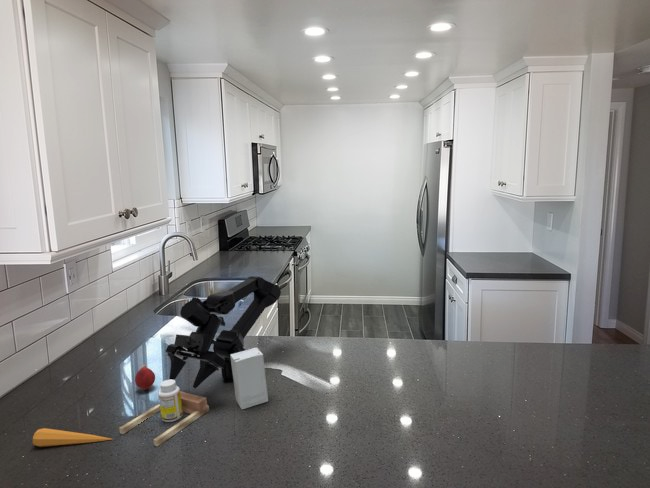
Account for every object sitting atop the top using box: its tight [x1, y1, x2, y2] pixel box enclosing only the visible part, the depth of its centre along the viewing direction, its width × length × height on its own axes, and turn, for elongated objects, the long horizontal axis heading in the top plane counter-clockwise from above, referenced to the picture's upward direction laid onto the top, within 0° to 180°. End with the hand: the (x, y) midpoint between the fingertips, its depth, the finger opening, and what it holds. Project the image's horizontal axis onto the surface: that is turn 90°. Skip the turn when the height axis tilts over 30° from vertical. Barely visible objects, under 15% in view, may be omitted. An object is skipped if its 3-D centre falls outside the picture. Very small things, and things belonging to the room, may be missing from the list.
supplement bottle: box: [158, 379, 184, 423], centre depth 124 cm, size 6×6×10 cm
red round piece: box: [134, 364, 156, 391], centre depth 142 cm, size 6×6×8 cm
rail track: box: [118, 390, 210, 447], centre depth 123 cm, size 18×14×4 cm
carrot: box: [32, 427, 113, 448], centre depth 116 cm, size 20×4×4 cm, turn 91°
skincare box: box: [230, 347, 269, 410], centre depth 129 cm, size 8×6×15 cm
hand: (182, 384), depth 128 cm, fingers open, 9 cm apart
